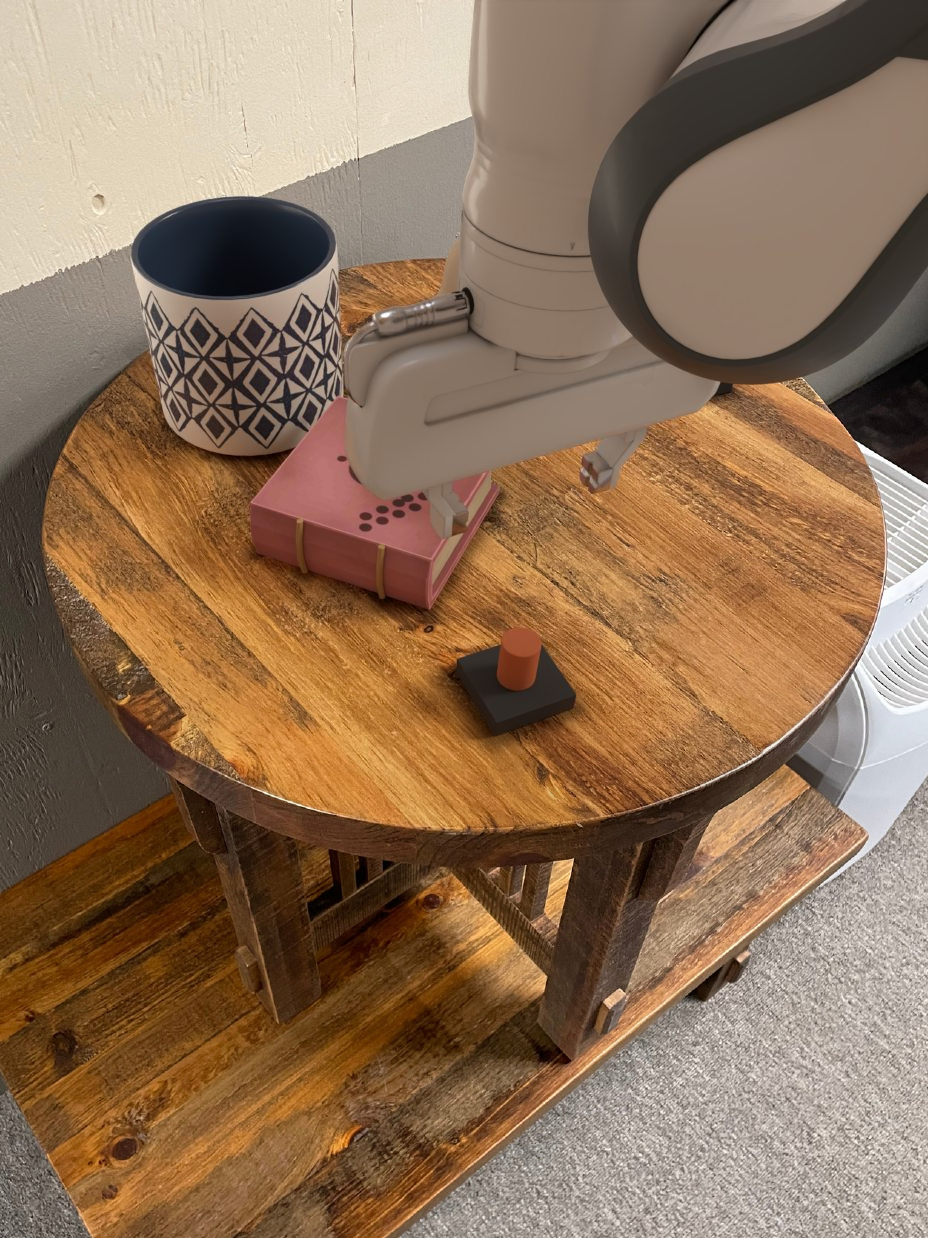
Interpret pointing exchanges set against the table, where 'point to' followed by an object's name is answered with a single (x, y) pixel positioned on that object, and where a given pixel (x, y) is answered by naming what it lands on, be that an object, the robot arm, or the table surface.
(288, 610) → the table surface
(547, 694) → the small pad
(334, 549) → the book
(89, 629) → the table surface
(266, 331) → the planter
